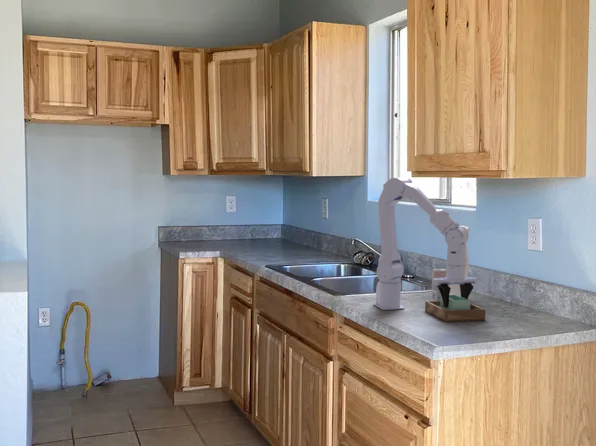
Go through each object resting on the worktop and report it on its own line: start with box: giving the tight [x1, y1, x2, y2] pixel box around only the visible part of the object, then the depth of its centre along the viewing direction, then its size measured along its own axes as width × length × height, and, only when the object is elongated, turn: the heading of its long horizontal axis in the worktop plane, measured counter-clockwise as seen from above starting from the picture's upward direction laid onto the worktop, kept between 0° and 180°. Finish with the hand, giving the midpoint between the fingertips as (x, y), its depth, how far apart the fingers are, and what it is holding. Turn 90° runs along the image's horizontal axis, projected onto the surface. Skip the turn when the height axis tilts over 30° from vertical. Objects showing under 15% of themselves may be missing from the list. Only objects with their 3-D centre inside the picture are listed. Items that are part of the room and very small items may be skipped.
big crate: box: [424, 300, 486, 323], centre depth 221 cm, size 15×13×4 cm
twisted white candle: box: [448, 224, 470, 297], centre depth 249 cm, size 8×8×28 cm
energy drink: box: [430, 267, 447, 301], centre depth 241 cm, size 5×5×12 cm
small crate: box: [440, 295, 471, 310], centre depth 221 cm, size 10×6×4 cm, turn 13°
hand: (454, 306), depth 221 cm, fingers closed on small crate, 5 cm apart
